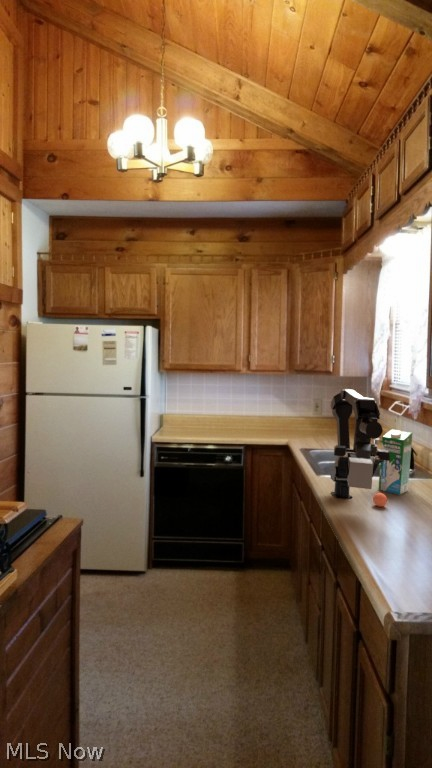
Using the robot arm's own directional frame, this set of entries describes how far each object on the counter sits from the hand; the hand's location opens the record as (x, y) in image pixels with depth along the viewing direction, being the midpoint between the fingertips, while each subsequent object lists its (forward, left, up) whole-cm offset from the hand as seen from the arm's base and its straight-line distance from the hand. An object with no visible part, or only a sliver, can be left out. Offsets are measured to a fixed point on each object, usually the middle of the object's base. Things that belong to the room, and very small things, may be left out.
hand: (359, 476), depth 163 cm
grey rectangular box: (0, 0, -3) cm, 3 cm away
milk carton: (-26, +28, -13) cm, 40 cm away
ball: (-6, +12, -10) cm, 17 cm away
